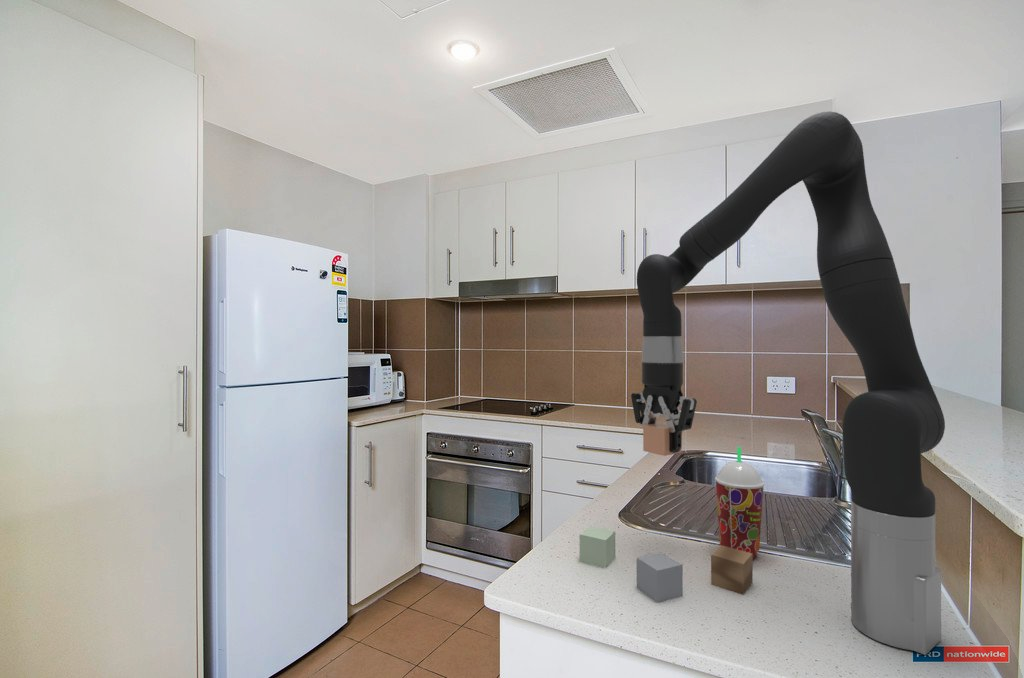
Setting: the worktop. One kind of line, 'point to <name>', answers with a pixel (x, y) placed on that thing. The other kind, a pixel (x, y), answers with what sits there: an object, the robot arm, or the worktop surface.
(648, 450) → the terracotta block
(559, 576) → the worktop surface
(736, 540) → the smoothie
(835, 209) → the robot arm
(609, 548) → the sage block
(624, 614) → the worktop surface
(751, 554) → the walnut block
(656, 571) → the grey block
